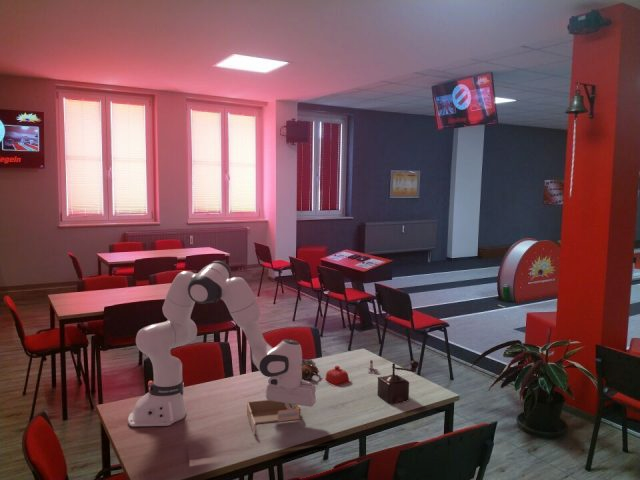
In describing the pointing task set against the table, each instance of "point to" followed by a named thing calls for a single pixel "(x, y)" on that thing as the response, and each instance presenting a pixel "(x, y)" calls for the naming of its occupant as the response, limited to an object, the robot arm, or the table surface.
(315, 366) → the egg carton
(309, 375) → the pottery mug
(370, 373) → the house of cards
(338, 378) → the butter dish
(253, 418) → the left flap
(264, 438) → the table surface
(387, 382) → the manual coffee grinder
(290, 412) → the right flap
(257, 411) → the carton
